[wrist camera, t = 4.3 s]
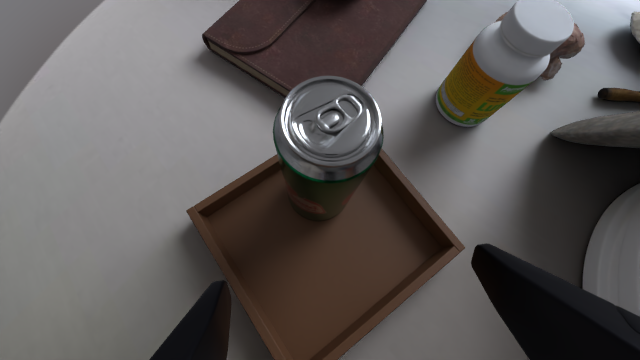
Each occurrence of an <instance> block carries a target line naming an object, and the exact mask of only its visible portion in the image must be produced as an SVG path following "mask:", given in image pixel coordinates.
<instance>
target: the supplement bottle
mask: <svg viewBox="0 0 640 360" xmlns="http://www.w3.org/2000/svg"><path fill="white" fill-rule="evenodd" d="M573 29H574V22H573V19H572V16H571V14H570V13H569V12H568V10H567V9H566V8H565V7H564V6H563V5H562V4H560V3H559V2H557V1H555V0H518V1H517V2H516V3H515V4H514V5H513V7H512V8H511V9H510V10H509V11H508V12H507V14H506V15H505V16H504V18H503V20H502V21H498V22H495V23H493V24H490V25H489V26H487V27H486V28H485V29H484V30H482V31H481V33H480V34H479V35H478V36H477V37H476V39H475V40H474V41H473V43H472V44H471V45H470V47H469V48H468V49H467V51H466V52H465V53H464V55H463V56H462V57H461V59H460V60H459V61H458V63H457V64H456V65H455V67H454V68H453V69H452V71H451V72H450V73H449V75H448V76H447V77H446V79H445V80H444V81H443V83H442V84H441V86H440V87H439V89H438V91H437V93H436V105H437V107H438V110H439V111H440V113H441V114H442V115H443V116H444V117H445V118H446V119H447V120H448V121H450V122H452V123H454V124H456V125H459V126H464V127H471V126H475V125H478V124H480V123H482V122H483V121H485V120H486V119H487V118H489V117H490V116H491V115H492V114H494V113H495V112H496V111H497V110H499V109H500V108H501V107H502V106H504V105H505V104H506V103H507V102H509V101H510V100H511V99H512V98H513V97H515V96H516V95H517V94H518V93H520V92H521V91H522V90H523V89H525V88H526V87H527V86H528V85H529V84H531V83H532V82H533V81H534V80H536V79H537V78H538V77H539V76H540V75H541V74H542V73H543V72H544V71H545V69H546V68H547V66H548V64H549V61H550V54H551V53H552V52H553V51H554V50H555V49H556V48H558V47H559V46H560V45H561V44H562V43H563V42H564V41H566V40H567V39H568V38H569V37H570V35H571V34H572V32H573Z"/></svg>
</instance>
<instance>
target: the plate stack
mask: <svg viewBox="0 0 640 360" xmlns="http://www.w3.org/2000/svg"><path fill="white" fill-rule="evenodd" d="M582 289H584V290H586V291H588V292H590V293H592V294H594V295H596V296H598V297H600V298H602V299H604V300H606V301H609V302H611V303H613V304H614V305H615V306H619V307H621V308H623V309H625V310H627V311H629V312H631V313H633V314H636V315H638V316H640V184H637V185H636V186H634V187H632V188H630V189H628V190H627V191H625V192H624V193H623V194H621V195H620V196H619V197H618V198H617V199H616V200H614V201H613V202H612V204H611V205H610V206H609V207H608V208H607V209H606V211H605V212H604V213H603V215H602V216H601V218H600V219H599V221H598V223H597V225H596V227H595V229H594V231H593V233H592V236H591V238H590V241H589V244H588V248H587V252H586V256H585V262H584V269H583V288H582Z"/></svg>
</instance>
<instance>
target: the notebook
mask: <svg viewBox="0 0 640 360" xmlns="http://www.w3.org/2000/svg"><path fill="white" fill-rule="evenodd" d="M426 1H427V0H239V1H238V2H237V3H236V4H235V5H234V6H233V7H232V8H231V9H230V10H228V11H227V12H226V13H225V14H224V15H223V16H222V17H221V18H220V19H219V20H217V21H216V22H215V23H214V24H213V25H212V26H211V27H210V28H209V29H208V30H207V31H205V32H204V33H203V34H202V38H203V41H204V43H205V44H206V46H207V47H208V48H209V50H211V51H212V52H214V53H216V54H217V55H219V56H220V57H222V58H224V59H225V60H227V61H228V62H230V63H231V64H233V65H235V66H236V67H238V68H239V69H241V70H243V71H244V72H246V73H247V74H249V75H251V76H252V77H254V78H255V79H257V80H258V81H260V82H262V83H263V84H265V85H266V86H268V87H270V88H271V89H273V90H274V91H276V92H277V93H279V94H281V95H282V96H284V97H285V98H286V97H287V95H288V94H289V92H290V91H291V90H292V89H293V88H294V87H296V86H297V85H299V84H300V83H302V82H304V81H306V80H308V79H311V78H314V77H319V76H338V77H343V78H346V79H349V80H351V81H353V82H355V83H357V84H359V85H360V86H362V85H363V83H364V82H365V81H366V79H367V78H368V77H369V75H370V74H371V73H372V71H373V70H374V69H375V68H376V66H377V65H378V64H379V62H380V61H381V60H382V58H383V57H384V56H385V55H386V53H387V52H388V51H389V49H390V48H391V47H392V45H393V44H394V43H395V41H396V40H397V39H398V38H399V36H400V35H401V34H402V32H403V31H404V30H405V28H406V27H407V26H408V24H409V23H410V22H411V21H412V19H413V18H414V17H415V15H416V14H417V13H418V11H419V10H420V9H421V8H422V6H423V5H424V4H425V2H426Z"/></svg>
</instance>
